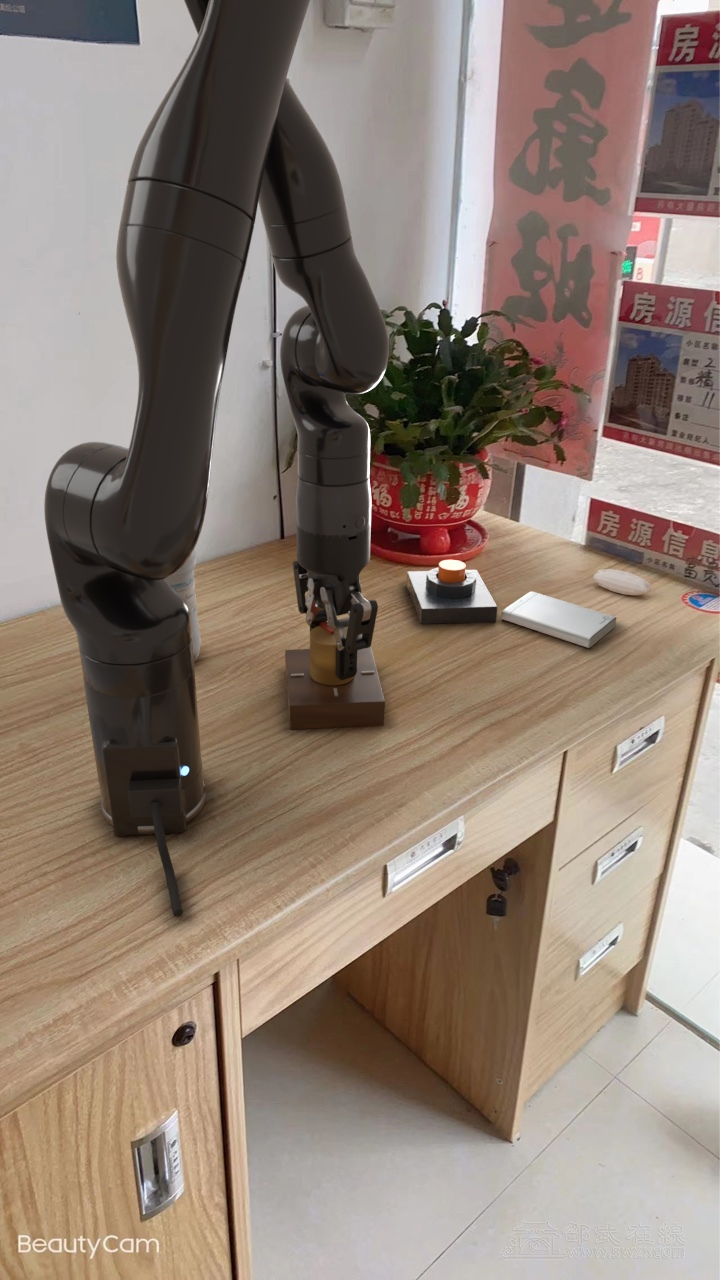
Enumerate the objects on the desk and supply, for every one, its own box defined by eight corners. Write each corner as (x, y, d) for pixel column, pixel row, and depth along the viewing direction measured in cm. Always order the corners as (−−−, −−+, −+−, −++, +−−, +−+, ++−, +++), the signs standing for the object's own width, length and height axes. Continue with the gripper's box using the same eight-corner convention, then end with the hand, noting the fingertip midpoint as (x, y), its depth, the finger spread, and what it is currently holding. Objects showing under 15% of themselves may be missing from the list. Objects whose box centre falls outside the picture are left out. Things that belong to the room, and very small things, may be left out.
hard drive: (617, 615, 115) (532, 589, 121) (589, 638, 109) (502, 609, 115) (615, 627, 115) (530, 599, 122) (588, 650, 110) (500, 620, 116)
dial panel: (384, 725, 94) (385, 700, 92) (289, 729, 93) (289, 704, 91) (370, 668, 104) (371, 645, 103) (285, 672, 103) (285, 648, 102)
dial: (363, 678, 96) (365, 635, 94) (324, 690, 94) (324, 646, 92) (340, 658, 100) (341, 617, 98) (301, 669, 98) (301, 627, 95)
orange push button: (467, 584, 117) (468, 569, 116) (440, 584, 117) (441, 570, 116) (461, 573, 121) (462, 559, 120) (435, 573, 120) (436, 559, 119)
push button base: (495, 621, 116) (498, 594, 114) (420, 624, 115) (422, 596, 113) (475, 583, 126) (477, 557, 124) (406, 585, 125) (407, 559, 123)
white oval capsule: (597, 580, 128) (600, 562, 127) (651, 595, 124) (654, 576, 123) (588, 587, 126) (591, 569, 125) (643, 602, 122) (646, 584, 121)
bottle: (191, 676, 102) (178, 512, 92) (137, 669, 103) (118, 506, 93) (211, 649, 108) (201, 492, 98) (159, 643, 109) (144, 487, 99)
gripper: (268, 503, 92) (272, 646, 100) (337, 549, 81) (336, 705, 89) (330, 492, 96) (330, 631, 104) (404, 535, 85) (397, 686, 93)
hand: (333, 664), depth 96 cm, fingers closed on dial, 5 cm apart
